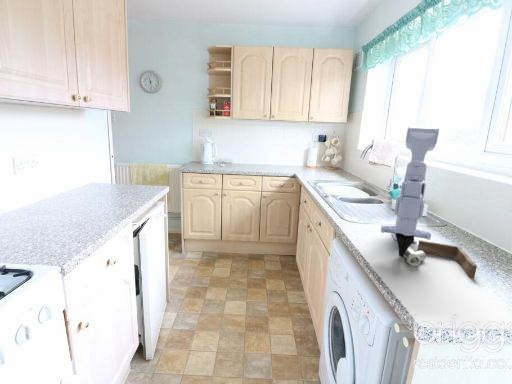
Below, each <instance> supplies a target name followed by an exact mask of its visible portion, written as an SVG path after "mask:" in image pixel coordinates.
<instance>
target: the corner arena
mask: <svg viewBox="0 0 512 384" xmlns="http://www.w3.org/2000/svg"><path fill="white" fill-rule="evenodd" d="M417 244H418V245H417V250H416V251H423V252H424V253H425V254H429V255H435V256H440V257H446V258H453V259H455V261H456V262H457V263H458V264H459V266H460V267H461V269H462V270H463V271H464V272H465V274H466V275H467V277H469V278H471V279H475V278H476V277H475V276H476V273H477V267H478V265H477V264H476V263H475V262H474V261H473V260H472V259H471V257H469V255H468V254H467V253H466V252H465V250H464V249H463V248H462V247H461V246H458V245H453V244H447V243H446V244H445V243H438V242H434V241H427V240H420V239H419V240H418V243H417Z"/></svg>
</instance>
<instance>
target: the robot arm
mask: <svg viewBox="0 0 512 384" xmlns="http://www.w3.org/2000/svg"><path fill="white" fill-rule="evenodd" d="M439 132H440V128H439V127H438V126H437V127H436V126H435V127H432V126H431V127H429V126H412V125H411V126H408V127H407V131H406V137H405V147H406V149H408V150H410V151H411V159H410V162H409V163H407V165H406V170H405V175H404V181H402V183H401V188H400V194H398V196H397V197H396V200H395V204H394V205H395V206H394V212H393V213H394V215H396V220H395V224H394V225H385V224H384V225H381V226H380V227H381V228H380V233H383V234H384V233H387V234H391V235H392V238H393V240H394V241H397V247H398V256H399V257H401V258H404V257H405V256H404V254H405V252H406V250H407V249H408V247H409V246H410V247H411V245H412V244H413V243H414V244H416V243H417V240H416V238H418V239H419V238H421V239H425V240H429V241H430V240H431V237H432V234H431V232H430V231H426V230H425V231H424V230H419V229H417V225H418V220H419V219H421V218H423V213H424V208H425V199H424V197H425V193H426V192H425V191H426V186H427V185H426V174H427V168H428V167H427V164H426V163H425V161H424V160H425V157H426V155H427V153H428V152H429V151H433V150H435V148H436V144H437V143H438V139H439Z"/></svg>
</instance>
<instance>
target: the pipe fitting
mask: <svg viewBox="0 0 512 384" xmlns="http://www.w3.org/2000/svg"><path fill="white" fill-rule="evenodd" d="M404 257H405V258H406V262H407V263H408V264H409V265H411V267H417V266H420V264H421V262H422V261H425V260H426V259H427V253H424V252H423V251H417V250H414V249H413V248H412V247H411V245H410V246H409V247H408V249H407V250H406V252H405V254H404Z"/></svg>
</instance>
